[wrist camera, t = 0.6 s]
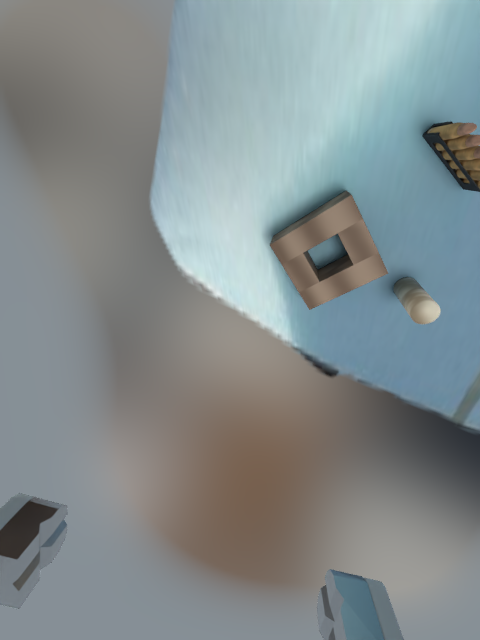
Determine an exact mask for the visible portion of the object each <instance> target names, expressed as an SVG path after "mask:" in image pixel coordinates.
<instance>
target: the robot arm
mask: <svg viewBox="0 0 480 640" xmlns="http://www.w3.org/2000/svg"><path fill="white" fill-rule="evenodd" d="M66 515H67V505H63V504H59V503H55V502H52V501H48V500H44V499H40V498H37V497H33V496H29V495H25V494H21V493H19V494H17V495H15V496H14V497H12V498H11V499H10V500H9V501H8V502H7V503H6V504H5V505H4V506H2V508H0V605H5V606H9V607H14V608H18V609H19V608H20V607H21V606H22V604H23V603H24V601H25V600H26V598H27V597H28V596H29V594H30V593H31V591H32V590H33V588H34V587H35V585H36V584H37V583H38V581H39V579H40V570H41V569H42V568H44V567H45V566H47V565H48V564H50V563H51V562H52V561H53V560H54V558H55V556H56V555H57V554H58V552H59V550H60V548H61V546H62V544H63V542H64V540H65V536H66V533H67V524H66V522H65V521H64V518H65V516H66ZM325 581H326V585H325V586H323V587H322V588H321V589H320V593H319V596H318V606H317V613H318V625H319V631H320V633H321V635H322V637H323V638H324V640H404V639H403V636H402V633H401V630H400V627H399V625H398V622H397V619H396V616H395V613H394V611H393V608H392V605H391V602H390V599H389V596H388V594H387V591H386V588H385V586H384V585H383V583H382V582H380V581H377V580H372V579H367V578H363V577H362V576H358V575H353V574H348V573H344V572H340V571H335V570H331V569H330V570H328V571H327V573H326V576H325Z"/></svg>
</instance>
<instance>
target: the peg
mask: <svg viewBox="0 0 480 640" xmlns="http://www.w3.org/2000/svg"><path fill="white" fill-rule="evenodd" d="M394 293H395V294H396V296H397V297H398V299H399V300H400V302H401V303H402V305H403V306H404V308H405V309H406V311H407V312H408V314H409V315H410V317H411V318H412V320H413V321H414V322H416V323H418V324H428V323H431V322H433V321H434V320H436V319H437V318H438V316H439V315H440V307H439V306H438V304H437V303H436V302H435V301H434V300H433V299H432V298H431V297H430V296H429V294H428V293H427V292H426V291H425V290H424V289H423V288H422V287H421V286H420V285H419V283H418V282H417V281H416V280H415V279H413V278H410V277H405V278H402V279H400V280H398V281H397V282H396V283H395V285H394Z"/></svg>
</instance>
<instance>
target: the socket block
mask: <svg viewBox="0 0 480 640" xmlns="http://www.w3.org/2000/svg"><path fill="white" fill-rule="evenodd" d="M337 233H338V235H339V237H340V239H341V241H342V243H343V245H344V247H345V249H346V251H347V253H348V255H346V256H344V257H342V258H340V259H338V260H336V261H334V262H333V263H331V264H329V265H327V266H325V267H323V268H321V269H319V270H318V269H317V267H316V266H315V264H314V262H313V260H312V258H311V257H310V255H309V253H308V251H307V250H309V249H311V248H313V247H314V246H316V245H318V244H320V243H321V242H323V241H325V240H327V239H328V238H330V237H332V236H334V235H336V234H337ZM270 246H271V248H272V249H273V251H274V253H275V254H276V256H277V258H278V259H279V261H280V262H281V264H282V266H283V267H284V269H285V271H286V272H287V274H288V275H289V277H290V279H291V280H292V282H293V284H294V285H295V287H296V289H297V290H298V292H299V293H300V295H301V297H302V298H303V300H304V302H305V303H306V305H307V306H308V308H309V310H310V309H312V308H315V307H317V306H319V305H321V304H323V303H325V302H327V301H330V300H332V299H334V298H336V297H338V296H340V295H343V294H345V293H347V292H349V291H351V290H353V289H356V288H358V287H360V286H362V285H364V284H366V283H368V282H371V281H373V280H375V279H377V278H379V277H381V276H384V275H386V274H388V272H387V269H386V267H385V265H384V263H383V261H382V259H381V257H380V255H379V252H378V250H377V248H376V246H375V244H374V242H373V240H372V237H371V235H370V233H369V231H368V229H367V227H366V225H365V222H364V220H363V218H362V216H361V214H360V212H359V210H358V207H357V205H356V203H355V201H354V199H353V197H352V195H351V194H350V193H349V192H347V191H345V192H343V193H341V194H340V195H338V196H337V197H335V198H333V199H332V200H330V201H329V202H327V203H325V204H324V205H322V206H321V207H319V208H317V209H316V210H314V211H313V212H311V213H309V214H308V215H306V216H305V217H303V218H301V219H300V220H298V221H297V222H295V223H293V224H292V225H290V226H289V227H287V228H285V229H284V230H282V231H281V232H279V233H277V234H276V235H274V236H273V238H272V240H271V243H270Z"/></svg>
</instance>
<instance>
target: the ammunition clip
mask: <svg viewBox="0 0 480 640" xmlns="http://www.w3.org/2000/svg"><path fill="white" fill-rule="evenodd" d="M476 128H477V126H476V124H474V123H452V122H444V123H438V124H434V125H433V126H432V127H431V128H430V129H428V130H427V131H426V132H425V133H424V134H423V137H424V139H425V140H426V141H427V143H428V144H429V145H430V147H431V148H432V149H433V150H434V152H435V153H436V154H437V156H438V157H439V158H440V160H441V161H442V162H443V163H444V165H445V166H446V167H447V169H448V170H449V171H450V173H451V174H452V175H453V176H454V178H455V179H456V180H457V182H458V183H459V184H460V186H461V187H462V188H463V189H465V190H471V191H478V192H480V146H478V145H480V135H470V134H469V133H471V132H473V131H474V130H475V129H476Z"/></svg>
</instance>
